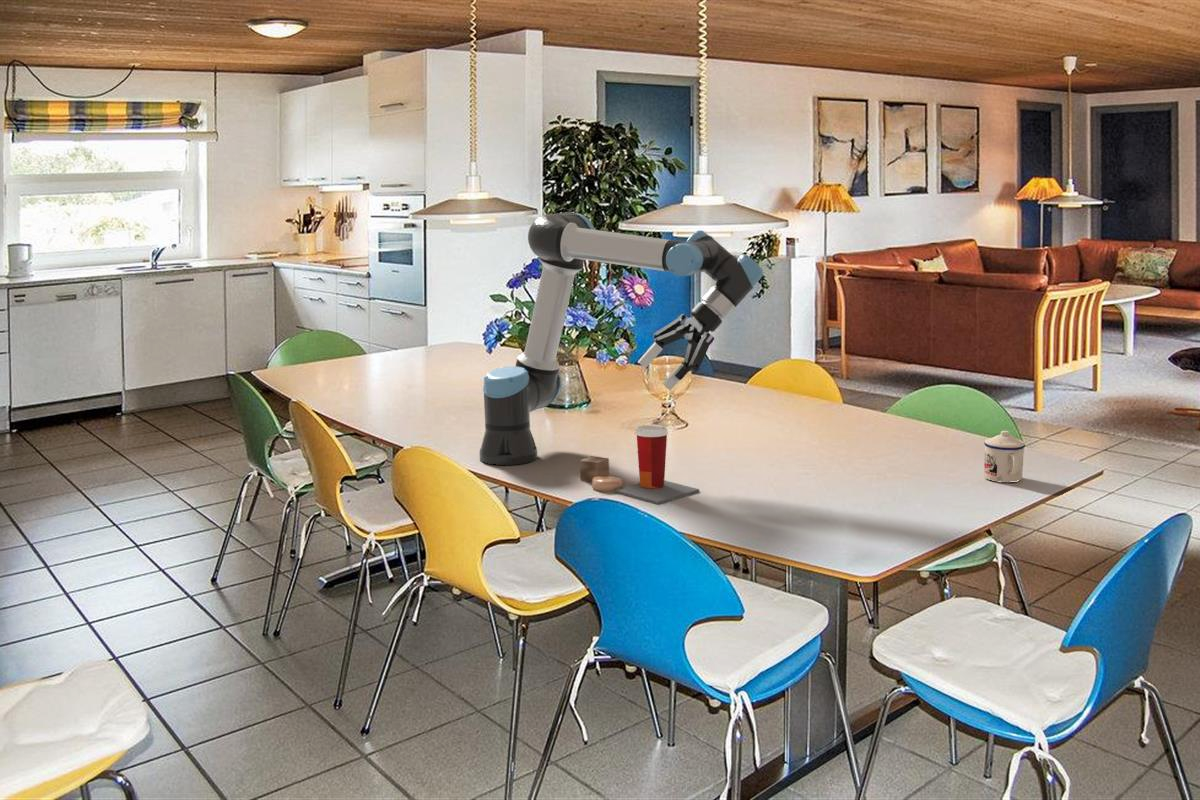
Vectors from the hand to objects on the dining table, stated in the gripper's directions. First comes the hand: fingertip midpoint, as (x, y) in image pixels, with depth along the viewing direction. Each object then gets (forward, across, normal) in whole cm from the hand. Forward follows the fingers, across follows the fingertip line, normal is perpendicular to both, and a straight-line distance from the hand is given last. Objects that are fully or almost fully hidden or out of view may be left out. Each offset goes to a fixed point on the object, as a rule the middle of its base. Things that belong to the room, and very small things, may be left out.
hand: (653, 376), depth 273 cm
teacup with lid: (-37, -49, -62) cm, 87 cm away
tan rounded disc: (+27, -12, -2) cm, 30 cm away
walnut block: (+28, -4, -4) cm, 29 cm away
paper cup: (+20, -18, -8) cm, 28 cm away
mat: (+20, -21, -8) cm, 30 cm away
